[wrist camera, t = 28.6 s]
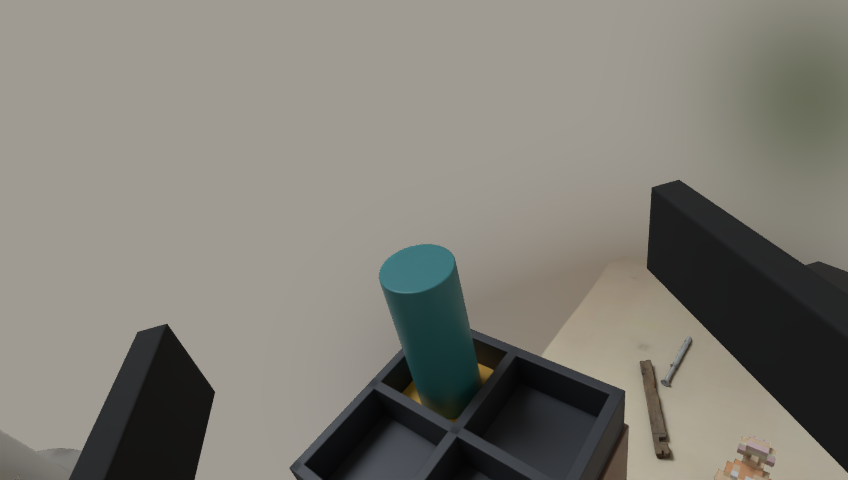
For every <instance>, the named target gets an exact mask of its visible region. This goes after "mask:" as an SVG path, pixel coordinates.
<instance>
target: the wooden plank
mask: <svg viewBox="0 0 848 480" xmlns="http://www.w3.org/2000/svg"><path fill="white" fill-rule="evenodd" d="M640 366H641V372H642V375H643V383H644V389H645V394H646V399H647V405H648V412H649V418H650V424H651V430H652V436H653V442H654V448H655V454H656V456H657V458H664V457H670V452H669V447H668V444H667V442H660V440H665V439H666V433H665V428H664V424H663V420H662V413H661V408H660V404H659V398H658V393H657V392H656V391H655V387H656V385H655V379H654V374H653V369H652V364H651V360H646V361H640Z"/></svg>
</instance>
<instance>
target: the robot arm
mask: <svg viewBox="0 0 848 480" xmlns="http://www.w3.org/2000/svg"><path fill="white" fill-rule="evenodd" d="M647 269H648V270H649V271H650V272H651V273H652V274H653V275H654V276H655V277H656V278H657V279H658V280H659V281H660V282H661V283H662V284H663V285H664V286H665V287H666V288H667V289H668V290H669V291H670V292H671V293H672V294H673V295H674V296H675V297H676V298H677V299H678V300H679V301H680V302H681V303H682V304H683V305H684V306H685V307H686V308H687V309H688V310H689V312H690V313H691V314H692V315H693V316H694V317H695V318H696V319H697V320H698V321H699V322H700V323H701V324H702V325H703V326H704V327H705V328H706V329H707V330H708V331H709V332H710V333H711V334H712V335H713V336H714V337H715V338H716V339H717V340H718V341H719V342H720V343H721V344H722V345H723V346H724V347H725V348H726V349H727V350H728V351H729V352H730V353H731V354H732V355H733V356H734V357H735V358H736V359H737V360H738V361H739V362H740V363H741V365H742V366H743V367H744V368H745V369H746V370H747V371H748V372H749V373H750V374H751V375H752V376H753V377H754V378H755V379H756V380H757V381H758V382H759V383H760V384H761V385H762V386H763V387H764V388H765V389H766V390H767V391H768V392H769V393H770V394H771V395H772V396H773V397H774V398H775V399H776V400H777V401H778V402H779V403H780V404H781V405H782V406H783V407H784V408H785V409H786V410H787V411H788V412H789V413H790V414H791V415H792V416H793V418H794V419H795V420H796V421H797V422H798V423H799V424H800V425H801V426H802V427H803V428H804V429H805V430H806V431H807V432H808V433H809V434H810V435H811V436H812V437H813V438H814V439H815V440H816V441H817V442H818V443H819V444H820V445H821V446H822V447H823V448H824V449H825V450H826V451H827V452H828V453H829V454H830V455H831V456H832V457H833V458H834V459H835V460H836V461H837V462H838V463H839V464H840V465H841V466H842V467H843V468H844V470H845V471H846V472H847V473H848V272H846V271H844V270H841V269H838V268H835V267H833V266H830V265H827V264H824V263H822V262H815V263H812V264H808V265H804V264H802V263H801V262H799V261H798V260H796V259H795V258H793V257H792V256H790V255H789V254H787V253H786V252H784V251H783V250H782V249H780V248H779V247H777V246H776V245H774V244H772V243H771V242H770V241H768V240H767V239H765V238H764V237H763V236H761V235H759V234H758V233H757V232H755V231H753V230H752V229H751V228H749V227H748V226H746V225H744V224H743V223H742V222H740V221H739V220H737V219H736V218H734V217H733V216H732V215H730V214H728V213H727V212H726V211H724V210H723V209H721V208H720V207H718V206H717V205H715V204H714V203H712V202H711V201H710V200H708V199H706V198H705V197H704V196H702V195H701V194H699V193H698V192H696V191H695V190H693V189H692V188H690V187H689V186H687V185H686V184H685V183H683V182H682V181H680V180H676V181H673V182H669V183H666V184H662V185H659V186H655V187H652V194H651V209H650V225H649V242H648V258H647ZM214 394H215V391H214V390H213V388H212V387H211V385H210V384H209V383H208V381H207V380H206V378H205V377H204V376H203V374H202V373H201V371H200V370H199V369H198V367H197V366H196V364H195V363H194V361H193V360H192V358H191V357H190V356H189V354H188V353H187V351H186V350H185V349H184V347H183V346H182V344H181V343H180V341H179V340H178V339H177V337H176V336H175V334H174V333H173V332H172V330H171V329H170V327H169V326H168V324H165V325H161V326H157V327H154V328H150V329H147V330H143V331H140V332H137V335H136V337H135V339H134V341H133V343H132V345H131V348H130V350H129V352H128V354H127V356H126V358H125V360H124V362H123V364H122V367H121V369H120V371H119V373H118V375H117V377H116V379H115V382H114V384H113V386H112V388H111V390H110V392H109V395H108V397H107V399H106V401H105V403H104V405H103V407H102V409H101V412H100V414H99V416H98V418H97V420H96V423H95V424H94V427H93V429H92V431H91V433H90V435H89V437H88V439H87V441H86V444H85V446H84V448H83V450H82V451H80V450H74V449H64V448H58V449H47V450H42V451H37V452H36V451H34V450H33V449H31V448H29V447H28V446H26V445H24V444H22V443H21V442H19V441H18V440H16V439H14V438H12V437H11V436H9V435H8V434H6V433H4V432H2V431H1V430H0V480H194V479H195V475H196V471H197V466H198V462H199V458H200V454H201V449H202V445H203V441H204V437H205V433H206V428H207V424H208V420H209V415H210V411H211V407H212V403H213V399H214Z"/></svg>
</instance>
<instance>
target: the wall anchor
mask: <svg viewBox="0 0 848 480" xmlns="http://www.w3.org/2000/svg"><path fill="white" fill-rule="evenodd" d="M691 339H692V338H691V337H690V336H688V337H687V338H686V340H685V342H684V344H683V346H682V347H681V349H680V351H679V353H678V355H677V357H676V358H675V360H674V362H673V364H671V365H670V366H671V369H670V370H669V372H668V374H667V376H666V378H665V379H662V380H661V383H662V384H663V385H665V386H669V385H670V383H669V379H670V377H671V375H672V374H673V372H674V370H675V369H677V365H678V364H679V362H680V360H681V358H682V356H683V354H684V352H685V351H686V348H687V347H688V345H689V343H690V342H691Z"/></svg>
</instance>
